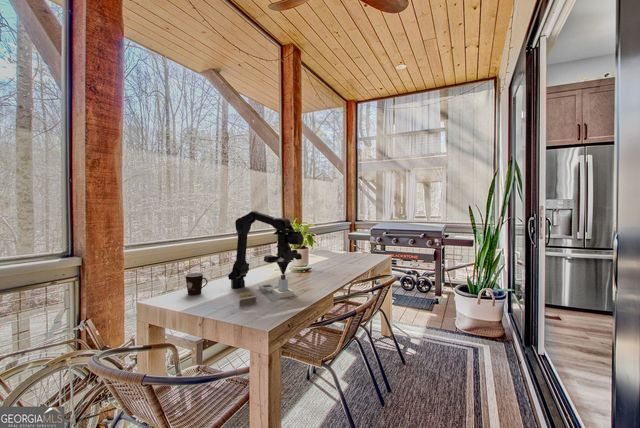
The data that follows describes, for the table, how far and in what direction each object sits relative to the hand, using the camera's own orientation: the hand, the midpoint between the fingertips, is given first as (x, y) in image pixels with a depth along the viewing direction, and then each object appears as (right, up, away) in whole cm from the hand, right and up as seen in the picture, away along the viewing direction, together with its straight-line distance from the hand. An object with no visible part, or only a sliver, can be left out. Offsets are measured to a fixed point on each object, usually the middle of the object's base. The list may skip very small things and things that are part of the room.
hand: (283, 274), depth 154 cm
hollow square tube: (-9, -10, +7) cm, 15 cm away
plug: (0, -10, 0) cm, 10 cm away
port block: (0, -10, 0) cm, 10 cm away
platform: (-15, -13, -12) cm, 23 cm away
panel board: (-4, -12, +3) cm, 13 cm away
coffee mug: (-46, -12, +5) cm, 48 cm away
